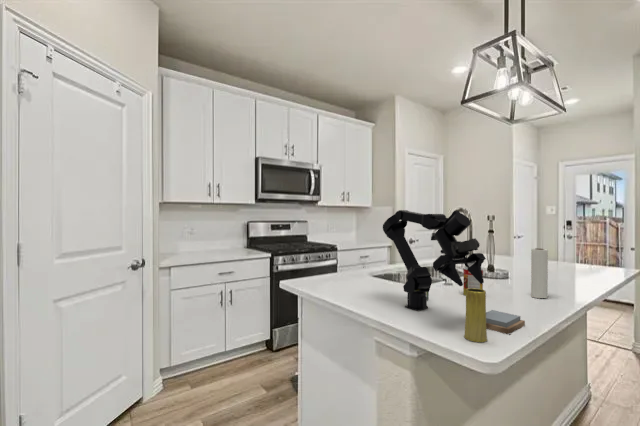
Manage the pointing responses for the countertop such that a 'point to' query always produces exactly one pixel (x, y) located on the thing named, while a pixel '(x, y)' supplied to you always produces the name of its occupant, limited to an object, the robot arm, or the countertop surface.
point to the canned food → (470, 281)
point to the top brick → (501, 318)
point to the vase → (475, 315)
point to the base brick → (506, 330)
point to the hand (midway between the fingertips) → (472, 284)
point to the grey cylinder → (539, 273)
